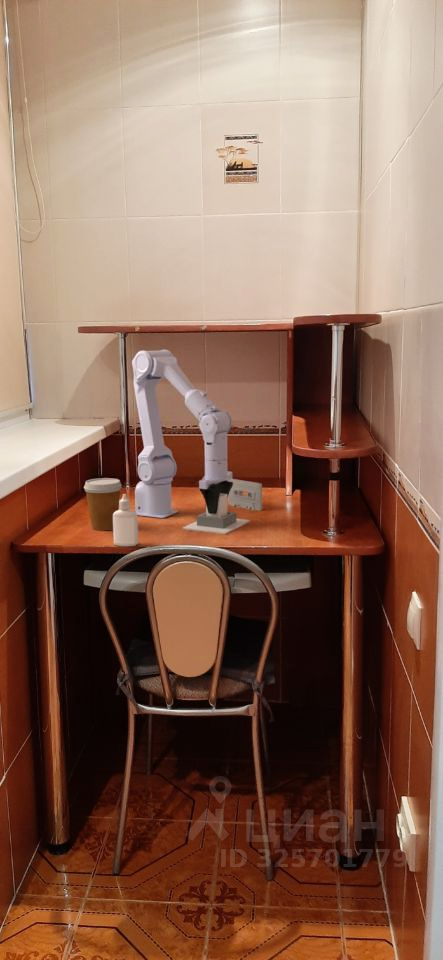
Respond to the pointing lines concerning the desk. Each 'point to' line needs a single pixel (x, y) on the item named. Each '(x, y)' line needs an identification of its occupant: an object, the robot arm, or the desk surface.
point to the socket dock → (216, 523)
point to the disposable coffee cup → (102, 501)
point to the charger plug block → (220, 507)
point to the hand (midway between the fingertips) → (216, 511)
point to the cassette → (245, 501)
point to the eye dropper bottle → (125, 524)
